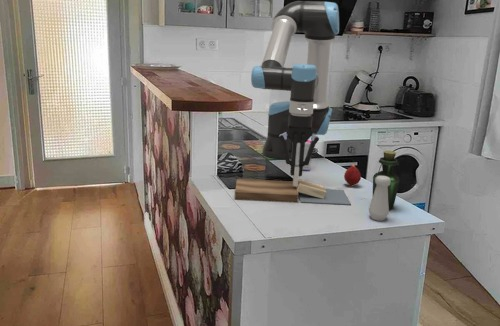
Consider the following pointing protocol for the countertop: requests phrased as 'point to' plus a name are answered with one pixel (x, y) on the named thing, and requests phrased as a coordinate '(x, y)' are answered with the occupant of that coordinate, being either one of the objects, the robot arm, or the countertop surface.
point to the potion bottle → (387, 166)
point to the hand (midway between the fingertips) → (295, 184)
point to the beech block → (311, 189)
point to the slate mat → (326, 198)
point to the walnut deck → (266, 190)
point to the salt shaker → (380, 199)
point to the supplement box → (307, 144)
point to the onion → (352, 175)
